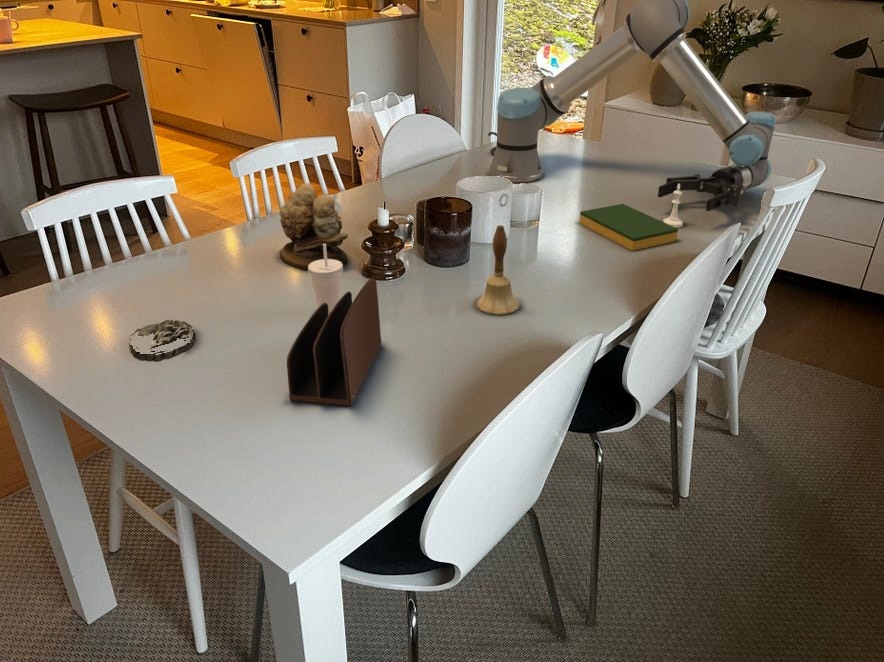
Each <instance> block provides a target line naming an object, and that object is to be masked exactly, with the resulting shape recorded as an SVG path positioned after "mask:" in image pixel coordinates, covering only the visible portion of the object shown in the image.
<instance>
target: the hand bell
mask: <svg viewBox="0 0 884 662" xmlns="http://www.w3.org/2000/svg"><path fill="white" fill-rule="evenodd" d="M507 237H508V236H507V234H506V230H505V226H504V225H501V224H500V225H497V226H496V229H495V232H494V235H493V239H492V251H493V255H494V274H493V275H492V276H489V277H488V278H487V280H486V285H485V290H484V293H483V295H481V297H480V298H478V300H477V302H476V308H477V309H478V310H479V311H481V312H483V313H485V314H490V315H497V316H502V315H509V314H512V313H514V312H516V311H518V310H519V309H520V307H521V306H520V305H521V304H520V302H519V300H518V298H516V297H515V296H514V293H513V290H512V285H511V284H512V283H511V279H510V278H509V277H507V276H506V275H504V272H505V271H504V258H505V255H506V252H507V247H508V238H507Z"/></svg>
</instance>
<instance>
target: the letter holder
mask: <svg viewBox="0 0 884 662" xmlns="http://www.w3.org/2000/svg"><path fill="white" fill-rule="evenodd" d="M377 284H378V283H377V279H376V278H374V277H370V278H369V279H368V280H367V281H366V282H365V283H364V284H363V286H362V287H361V289H359V291H358V293H357V295H356V296H355V298H354V299H353V294H352V292H351V291H346V292H345V293H344V294H343V295H341V297H340V300H339V301H338V302H337V304H336V305H335V307H334V308H333V310H332V311H331V312H330V314H329V316H328V304H327V303H323V304H321V305H320V306H319V307H318V306H317V308H316V310H315V311H314V312H313V314H311V315H310V317H309V318H308V320H307V321H306V323H305V324H304V326H303V327H302V329H301V330H300V332H299V333H298V335H297V336H296V338H295V340H294V342H293V344H292V346H291V347H290V350H289V352H288V354H287V357H286V370H287V384H288V393H289V400H290V401H292V402H294V401H295V402H303V403H304V402H305V403H315V404H325V405H335V406H346V407H351V406H352V405H353V403H354V400H355V398H356V396H357V394H358V392H359V390H360V388H361V386H362V384H363V382H364V380H365V378H366V376H367V374H368V371H369V369H370V367H371V366H372V364H373V361H374V359H375V358H376V355H377V353H378V351H379V349H380V347H381V345H382V336H381V335H382V334H381V322H380V319H381V318H380V308H379V307H380V306H379V296H378V285H377ZM353 396H354V397H353Z"/></svg>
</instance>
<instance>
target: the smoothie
mask: <svg viewBox="0 0 884 662" xmlns="http://www.w3.org/2000/svg"><path fill="white" fill-rule="evenodd" d="M322 249H323V252H324V259H321V260H317V261H314V262H312V263H310V264H309V265H308V270H307V273H308V274H309V275H310V278H311V282H312V288H313V291H314V295H315V300H316V303H317V308H318V307H319V306H320V305H321V304H323V303H327V304H328V316H329V314H330V312H331V311H332V310H333V308H334V307H335V305H336V304H337V302H338V301H339V300H340V299H341V290H342V289H341V286H342V272H343V271H344V264H342V263H341V262H340V261H338V260H334V259H327V251H326V244H323V248H322Z"/></svg>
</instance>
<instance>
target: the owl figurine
mask: <svg viewBox="0 0 884 662" xmlns="http://www.w3.org/2000/svg"><path fill="white" fill-rule="evenodd" d="M335 205H336V203H335V200H334V198H333V197H332V196H330V195H328V194H327V195H326V194H321V195H318V196H317V192H316V188H315V187H314V186H313V184H311V183H309V182H308V183H307V182H306V183H302V184H301V185H299V186H298V187H297V188H296V189H295V190H294V192H292V193H290V194H289V195H288V197H287V200H286V201H285V202H284V204H283V206H282V207H281V208H279V216H280V219H279V221H280V226H281V227H282V230H283V232H284V235H285V236H286V238H288V239H289V240H290V242H287V243H285V244H284V246H283V247H282V248H281V249H280V250H279V258H280V259H281V260H282V262H284V263H285V264H287V265H289V266H292V267H295V268H298V269H302V270H305V271H306V270H307V271H308V265H309V264H310V263H312V262H314V261H317V260H321V259H324V252H323V244H326V251H327V259H334V260H338V261H340V262H341V263H342V264H343V265H345V264H347V263H348V255H347V253H346V252H345V251H344V250H343V249H341V248H340V247H339V246H341V245H342V244H343V242H344V241H345V240H346V239H348V238H349V235H348V233H346V232H343V233H341V230H342V229H343V221H342V217H341V216H340V215H339V213H338V211H337V210H336V208H335Z"/></svg>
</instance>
